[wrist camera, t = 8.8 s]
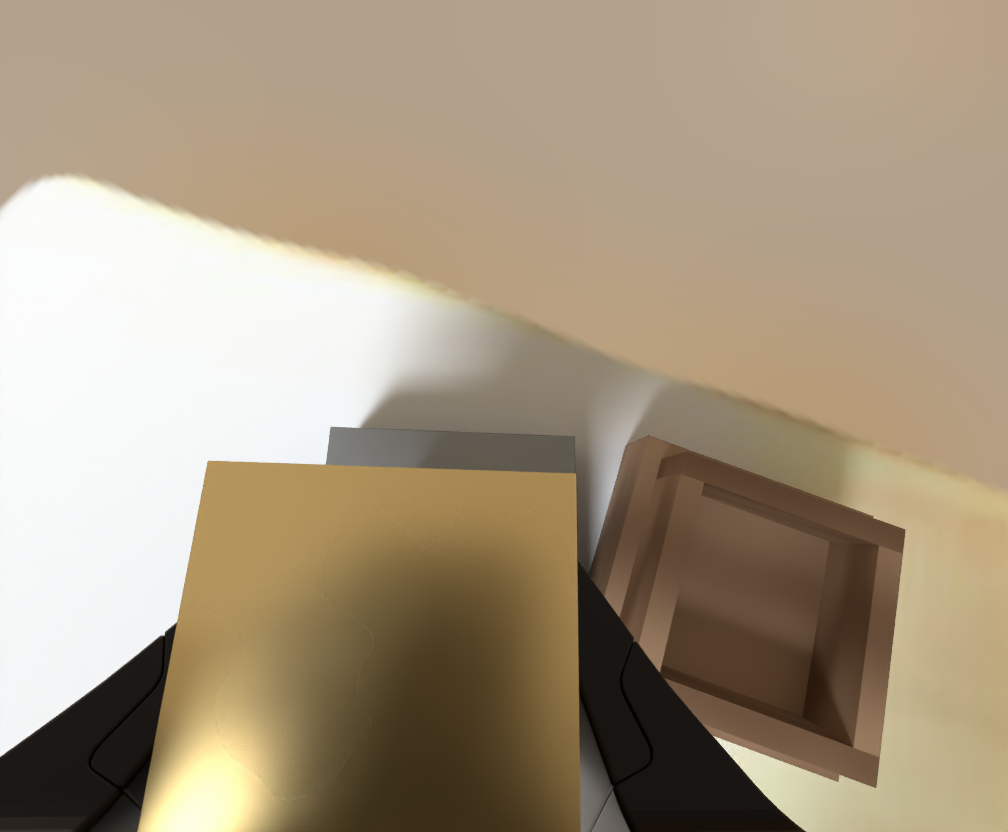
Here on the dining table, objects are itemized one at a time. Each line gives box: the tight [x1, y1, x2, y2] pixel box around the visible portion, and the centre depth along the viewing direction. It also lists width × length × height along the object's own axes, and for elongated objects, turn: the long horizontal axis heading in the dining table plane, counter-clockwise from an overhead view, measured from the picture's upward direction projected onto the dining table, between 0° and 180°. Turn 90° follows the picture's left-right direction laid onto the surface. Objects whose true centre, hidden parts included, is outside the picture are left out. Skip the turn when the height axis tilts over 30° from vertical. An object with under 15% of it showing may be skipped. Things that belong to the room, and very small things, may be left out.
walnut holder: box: [589, 436, 905, 788], centre depth 15 cm, size 9×9×4 cm
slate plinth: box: [326, 427, 575, 473], centre depth 16 cm, size 9×9×2 cm
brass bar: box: [137, 461, 581, 832], centre depth 9 cm, size 4×4×10 cm
